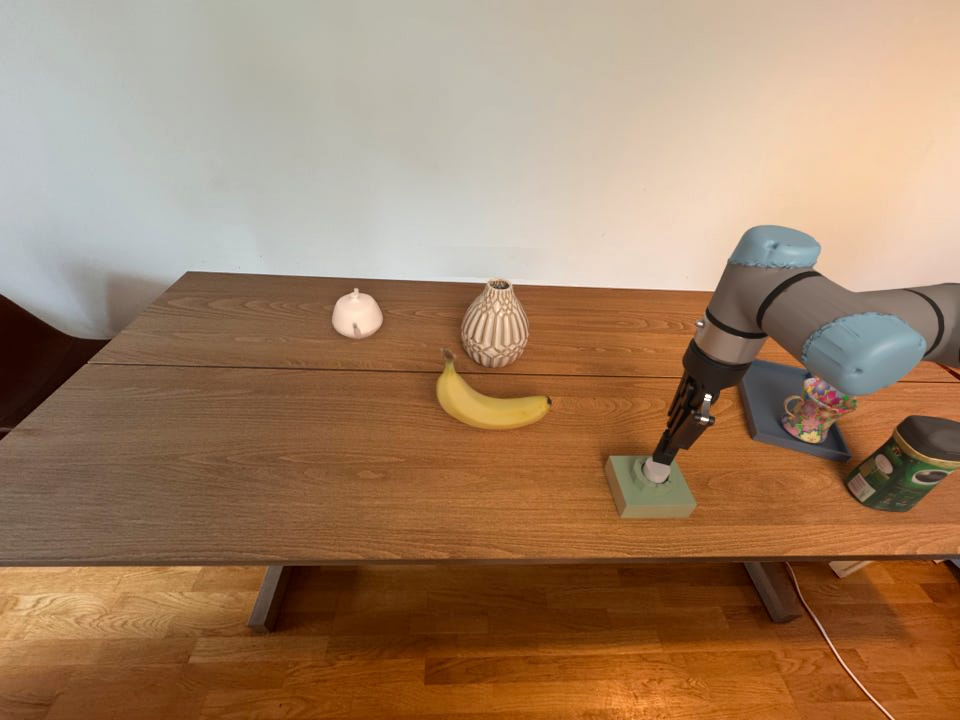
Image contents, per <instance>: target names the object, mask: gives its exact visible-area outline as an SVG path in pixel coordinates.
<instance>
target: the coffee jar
mask: <svg viewBox="0 0 960 720" xmlns="http://www.w3.org/2000/svg"><path fill="white" fill-rule="evenodd" d="M959 469H960V421H956V420H953V419H949V418H945V417H938V416H931V415H921V414H920V415H919V414H918V415H917V414H911V415H908V416H906V417H905V418H904V419H903V420H901V421H900V422H899V423H898V424H897V425H896V426H894V428H893V431H892V434H891V435H890V437H889V438H888V439H887V440H886V441H884V443H883V444H881V446H879V447H878V448H877V449H876V450H874V452H872V453H871V454H870V455H869V456H868V457H866V458H865V459H863V461H861V462H860V463H859V464H857V465H855V467H854V468H853V469H852V470H850V471H849V472H848V473H847V474H846V475H845V478H844V480H845V484H846V487H847V489H848V491H849V492H850V493H851V495H852V496H853V497H854V498H855V499H856V500H857V501H858V502H859V503H861V504H863V506H865V507H867V508H870V509H873V510H877V511H881V512H882V511H883V512H891V513H906V512H907V513H908V512H909V511H910V510H912V509H913V508H914V507H916V505H917V504H919V503H920V502H921V501H922V500H923V499H924V498H925V497H926V496H927V495H928V494H929V493H930V492H931V491H932V490H933V489H935V488H936V487H937V486H938V485H939V484H940V483H941V482H942V481H944V480H945V479H946V478H947V477H948V476H950V475H952V473H954V472H955V471H957V470H959Z"/></svg>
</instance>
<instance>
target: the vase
mask: <svg viewBox="0 0 960 720" xmlns="http://www.w3.org/2000/svg"><path fill="white" fill-rule="evenodd" d="M460 326H461V327H460V338H461V343H462V346H463V348H464V350H465V353H466V354H467V355H468V357H469V358H470V359H471V360H473V361H474V362H475V363H477V364H479V365H480V366H483V367H487V368H493V369H494V368H497V369H498V368H503V367H507V366H509V365H511V364H513V363H515V362H516V361H517V360H518V359H519V358H520V357H521V356H522V355H523V353H524V352H525V350H526V349H527V346H528V343H529V339H530V331H531V330H530V322H529V318H528V315H527V312H526V310H525V308H524V307H523V305H522V303H521V301H520V300H519V298H517V296H516V294H515V290H514V286H513V283H512V282H511V281H510V280H508V279H506V278H502V277H494V278H491V279H488V281H487V282H486V284H485V287H484V289H483V291H482V292H481V293H480V294H479V295H478V296H476V298H474V300H473V301H472V302H471V303H470V305H469V306H468V307H467V309H466V311H465V313H464V316H463V318H462V321H461V324H460Z"/></svg>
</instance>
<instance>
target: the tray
mask: <svg viewBox="0 0 960 720" xmlns="http://www.w3.org/2000/svg"><path fill="white" fill-rule="evenodd" d="M809 378H816V376H814V375H813V374H812V373H811V372H809V371H808V370H807V369H806V368H802V367H798V366H793V365H787V364H783V363H779V362H774V361H769V360H764V359H761V358H757V357H756V358H755V359H754V360H753V361H752V363H751V366H750V367H749V369H748V370H747V372H746V374H745V375H744V377H743V378H742V380H741V382H740V383H739V384H738V385H737V386H738V388H739V393H740V397H741V400H742V404H743V405H742V406H743V408H744V413H745V416H746V420H747V425H748V428H749V432H750V436H751V440H752V441H755V442H759V443H763V444H767V445H771V446H776V447H779V448H782V449H783V448H784V449H786V450H787V449H788V450H791V451H795V452H800V453H802V454H803V453H804V454H808V455H811V456H815V457H820V458H823V459H827V460H832V461H836V462H838V463H839V462H840V463H844V464H847V463H848V462H849V461H850V460H851V459H852V458H853V455H852V452H851V450H850V448H849V445H848V444H847V441H846V440H845V437H844V435H843V432H842V431H841V429H840V427H839V424H838V423H837V420H836V421H835V422H834V423H833V424H832V425H831V426H830V428H829V429H828V432H827V438H826V440H825V441H823V442H821V443H809V442H805V441H803V440H800V439H798V438H796V437H794V436H793V435H791V434H790V433H789V432H788V431H787V430H786V429H785V428H784V427H783V426H782V424H781V420H780V418H781V415H782V414H783V413H785V412H786V411H785V409H784V406H783V404H784V401H785V400H786V399H787V398H788V397H791V396H801V393H802V385H803V382H804V381H805V380H807V379H809ZM798 401H799V399H793V400H790V401H789V402H788V403H787V410H788V411H790V410H791V409H792V408H793V407H794V406H795V405H796V404H797V403H798Z"/></svg>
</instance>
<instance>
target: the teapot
mask: <svg viewBox="0 0 960 720" xmlns="http://www.w3.org/2000/svg"><path fill="white" fill-rule="evenodd" d="M383 320H384V315H383V312H382V310H381V308H380V306H379V305H378V303H377V301H376V300H375V298H373V297H372V296H371V295H369V294H367V293H364V292H363V293H362V292H360V290H359V288H357V287H353V292H351V293H349V294H348V293H347V294H345V295H343V296H341V297H339V299H337V301H336V303H335V305H334V308H333V312H332V316H331V324H332V326H333V328H334V330H335V331H336V332H337V333H339V335H342V336H344V337H346V338H350V339H353V340H354V339H355V340H357V339H358V340H361V339H365V338H368V337H370V336H372V335H374V334H375V333H376V332H377V331H379V329H380V328H381V326H382V325H383V322H384V321H383Z"/></svg>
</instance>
